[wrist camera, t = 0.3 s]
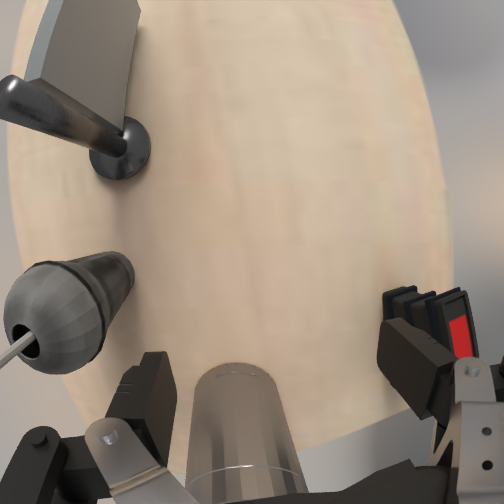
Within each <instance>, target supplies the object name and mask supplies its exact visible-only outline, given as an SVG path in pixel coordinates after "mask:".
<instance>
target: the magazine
mask: <svg viewBox="0 0 504 504" xmlns="http://www.w3.org/2000/svg"><path fill="white" fill-rule="evenodd" d="M383 309H384V321H386V320H391V319H395V318H402V319H404V320H405V321H406V322H407V323H409V324H410V325H411V326H412V327H416V328H418V329H421V330H423V331H425V332H426V333H427V334H429V335H430V336H431V337H432V338H434V339H435V340H436V341H438V344H439V343H440V344H441V345H443V346H444V347H445V348H446V349H448V350H449V351H450V352H451V353H453V354H454V355H455V356H456V357H457V358H459V359H461V358H464V357H476V358H479V352H478V345H477V339H476V333H475V327H474V322H473V317H472V312H471V307H470V303H469V298H468V294H467V292H466V291H461V290H460V287H457V288H454V289H452V290H449V291H447V292H444V293H442V294H439V295H437V296H436V292H435V291H431V292H428V293H425V294H420V293H417V286H415V285H413V286H410V287H404V286H403V287H400V288H397V289H393V290H390V291H387V292H384V293H383ZM390 384H391V383H390ZM391 385H392V384H391ZM392 387H393V388H394V386H393V385H392Z"/></svg>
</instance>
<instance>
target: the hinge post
mask: <svg viewBox="0 0 504 504" xmlns="http://www.w3.org/2000/svg"><path fill="white" fill-rule="evenodd" d="M0 119H2V120H5V121H8V122H12V123H15V124H18V125H21V126H24V127H27V128H30V129H33V130H36V131H39V132H42V133H45V134H48V135H51V136H54V137H57V138H60V139H63V140H66V141H69V142H72V143H75V144H77V145H80V146H83V147H86V148H89V156H90V161H91V164H92V166H93V168H94V169H95V171H96V172H97V173H98V174H100V175H101V176H103V177H105V178H108V179H113V180H124V179H127V178H130V177H132V176H134V175H135V174H137V173H138V172H139V171H140V170H141V169H142V168H143V167H144V165H145V164H146V162H147V160H148V157H149V154H150V149H151V141H150V137H149V134H148V132H147V130H146V129H145V127H144V126H143V125H142V124H141V123H139V122H138V121H137V120H135V119H133V118H131V117H125V116H124V122H123V131H118V132H113V131H111V130H109V129H108V128H106V127H104V126H103V125H101V124H99V123H98V122H96V121H94V120H92V119H91V118H89V117H87V116H86V115H84V114H82V113H81V112H79V111H77V110H75V109H74V108H72V107H70V106H68V105H67V104H65V103H63V102H61V101H60V100H58V99H56V98H54V97H53V96H51V95H49V94H47V93H46V92H44V91H42V90H40V89H39V88H37V87H35V86H33V85H31V84H30V83H28V82H26V81H24V80H22V79H21V78H19V77H17V76H15V75H9V76H6V77H5V78H4V79H2V80H1V81H0Z"/></svg>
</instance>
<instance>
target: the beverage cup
mask: <svg viewBox="0 0 504 504" xmlns="http://www.w3.org/2000/svg"><path fill="white" fill-rule="evenodd" d="M133 283H134V270H133V266H132V265H131V263H130V261H129V260H128V259H127V258H126V257H125V256H124V255H122V254H120V253H118V252H113V251H111V252H103V253H98V254H94V255H90V256H86V257H82V258H78V259H74V260H70V261H49V260H48V261H44V262H39V263H35V264H34V265H33V266H32V267H30V268H29V269H28V270H27V271H25V272H24V273H23V275H22V276H20V277H19V278H18V279H17V280H16V281H15V283H14V284H13V286H12V287H11V289H10V291H9V293H8V296H7V298H6V301H5V307H4V318H3V319H4V327H5V332H6V335H7V338H8V340H9V343H10V345H11V346H10V347H9V348H7V349H6V350H5V351H3V352H2V353H1V354H0V369H1V368H2V367H3V366H4V365H6V364H7V363H8V362H9V361H10V360H11V359H12V358H14V357H15V356H16V355H18V357H19V358H20V359H21V360H22V361H23V362H25V363H26V364H28V365H29V366H30V367H32V368H33V369H35V370H38V371H40V372H43V373H46V374H67V373H70V372H73V371H75V370H77V369H80V368H81V367H83V366H85V365H86V364H87V363H88V362H90V361H92V360H93V359H94V358H95V357H96V356H97V355H98V354H99V352H100V351H101V349H102V346H103V343H104V340H105V337H106V332H107V329H108V327H109V325H110V323H111V322H112V320H113V318H114V316H115V315H116V313H117V312H118V310H119V308H120V307H121V305H122V303H123V302H124V300H125V299H126V297H127V295H128V294H129V291H130V289H131V288H132V285H133Z"/></svg>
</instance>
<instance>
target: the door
mask: <svg viewBox="0 0 504 504" xmlns="http://www.w3.org/2000/svg"><path fill="white" fill-rule="evenodd" d="M140 13H141V9H140V7H139V5H138V2H137V0H49V2H48V4H47V7H46V9H45V12H44V14H43V17H42V20H41V22H40V25H39V28H38V31H37V34H36V37H35V40H34V43H33V47H32V50H31V53H30V57H29V60H28V64H27V68H26V72H25V76H24V81H26V82H28V83H30V84H31V85H33V86H35V87H37V88H39V89H40V90H42V91H44V92H46V93H47V94H49V95H51V96H53V97H54V98H56V99H58V100H60V101H61V102H63V103H65V104H67V105H68V106H70V107H72V108H74V109H75V110H77V111H79V112H81V113H82V114H84V115H86V116H87V117H89V118H91V119H92V120H94V121H96V122H98V123H99V124H101V125H103V126H104V127H106V128H108V129H109V130H111V131H113V132H118V131H123V122H124V111H125V101H126V93H127V85H128V77H129V70H130V64H131V58H132V52H133V46H134V41H135V36H136V31H137V26H138V21H139V17H140Z"/></svg>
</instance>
